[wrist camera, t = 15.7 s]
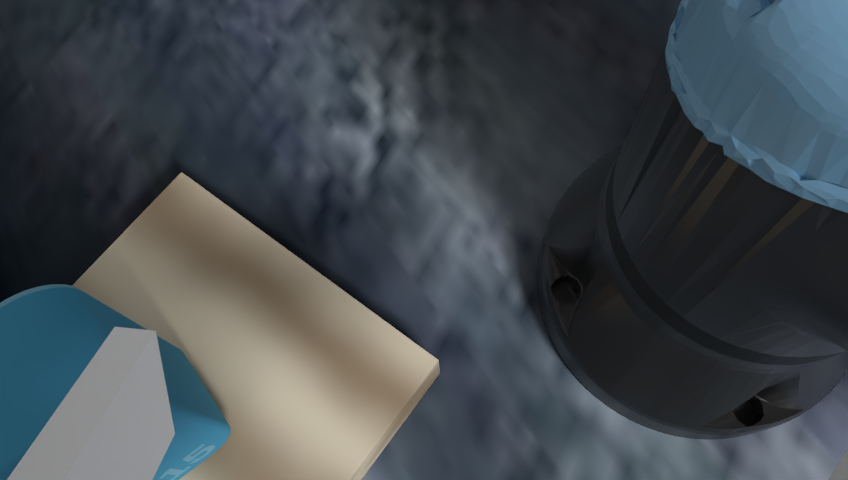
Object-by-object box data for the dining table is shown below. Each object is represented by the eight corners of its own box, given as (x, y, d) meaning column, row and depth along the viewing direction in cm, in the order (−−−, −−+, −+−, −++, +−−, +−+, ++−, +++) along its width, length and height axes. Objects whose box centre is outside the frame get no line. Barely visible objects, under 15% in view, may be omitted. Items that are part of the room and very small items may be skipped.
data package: (-7, 620, 28) (-316, 690, 17) (-49, 524, 29) (-361, 531, 18) (242, 433, 30) (118, 386, 19) (192, 353, 31) (48, 266, 20)
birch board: (201, 196, 38) (181, 171, 35) (439, 372, 34) (438, 360, 31) (-39, 452, 33) (-84, 446, 30) (203, 693, 29) (176, 712, 26)
